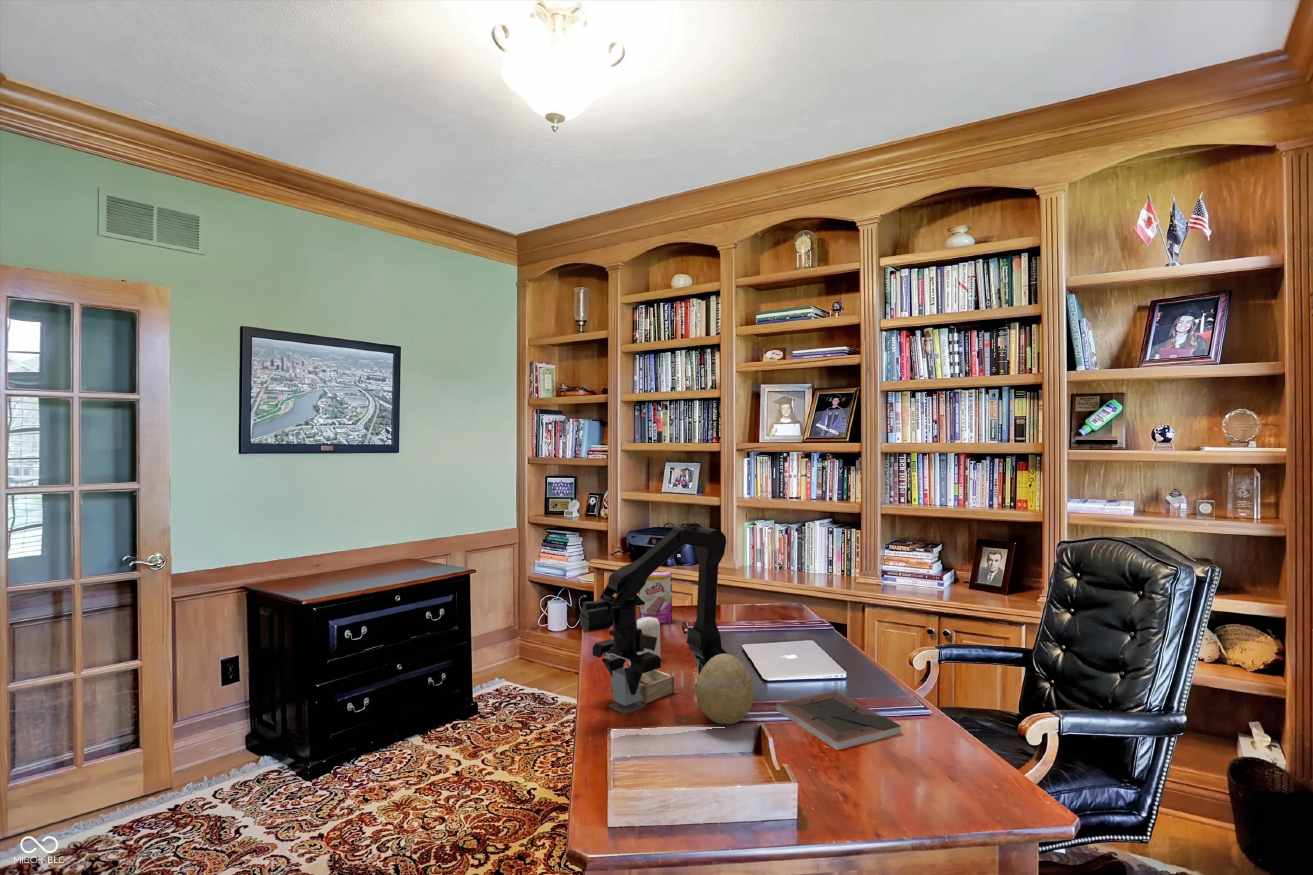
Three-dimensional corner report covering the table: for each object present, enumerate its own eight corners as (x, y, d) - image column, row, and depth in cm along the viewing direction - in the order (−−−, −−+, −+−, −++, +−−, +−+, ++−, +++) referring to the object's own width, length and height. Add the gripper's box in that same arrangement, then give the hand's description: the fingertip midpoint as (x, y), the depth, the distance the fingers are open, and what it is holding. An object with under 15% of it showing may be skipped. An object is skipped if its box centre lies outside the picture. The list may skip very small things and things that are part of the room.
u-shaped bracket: (674, 692, 170) (673, 676, 169) (645, 703, 163) (644, 686, 163) (640, 679, 179) (639, 663, 179) (611, 689, 173) (610, 673, 172)
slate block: (640, 700, 161) (639, 670, 161) (625, 705, 158) (624, 675, 158) (628, 695, 165) (627, 665, 164) (613, 700, 162) (612, 670, 161)
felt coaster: (645, 706, 161) (645, 704, 161) (625, 714, 157) (625, 712, 157) (628, 699, 166) (628, 697, 166) (609, 707, 162) (609, 705, 162)
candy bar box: (639, 625, 227) (637, 575, 227) (639, 621, 232) (638, 572, 232) (673, 624, 227) (671, 574, 227) (672, 619, 232) (671, 571, 232)
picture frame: (901, 736, 144) (835, 700, 164) (900, 725, 144) (835, 689, 164) (836, 753, 138) (776, 713, 157) (836, 741, 138) (776, 702, 157)
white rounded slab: (652, 655, 197) (651, 612, 197) (663, 659, 194) (661, 615, 194) (625, 665, 190) (624, 620, 189) (635, 668, 187) (634, 623, 186)
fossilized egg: (687, 716, 156) (686, 650, 155) (737, 706, 160) (736, 642, 160) (712, 739, 144) (710, 668, 143) (765, 728, 148) (763, 659, 148)
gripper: (677, 625, 160) (679, 692, 160) (625, 611, 173) (627, 672, 174) (641, 636, 152) (643, 706, 152) (590, 620, 166) (592, 685, 166)
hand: (626, 691), depth 161 cm, fingers closed on slate block, 4 cm apart
